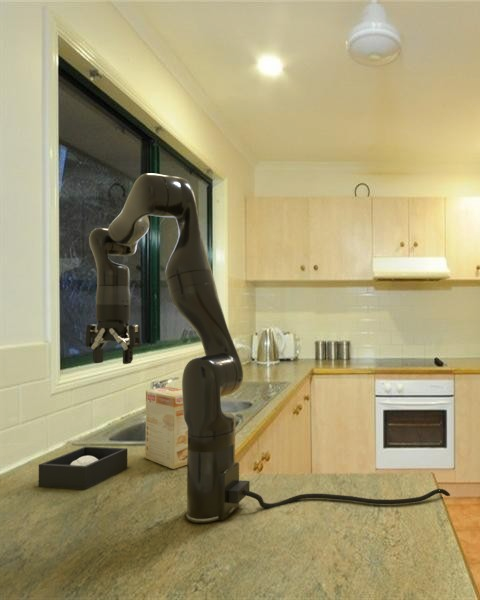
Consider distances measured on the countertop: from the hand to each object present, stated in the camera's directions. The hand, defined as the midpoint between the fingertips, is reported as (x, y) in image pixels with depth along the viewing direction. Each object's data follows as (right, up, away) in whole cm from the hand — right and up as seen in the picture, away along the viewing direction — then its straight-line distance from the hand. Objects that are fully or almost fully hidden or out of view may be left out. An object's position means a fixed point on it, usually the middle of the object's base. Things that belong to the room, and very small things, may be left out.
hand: (112, 363), depth 108 cm
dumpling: (-3, -27, -6) cm, 28 cm away
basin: (-3, -28, -6) cm, 29 cm away
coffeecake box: (+13, -28, +5) cm, 32 cm away
